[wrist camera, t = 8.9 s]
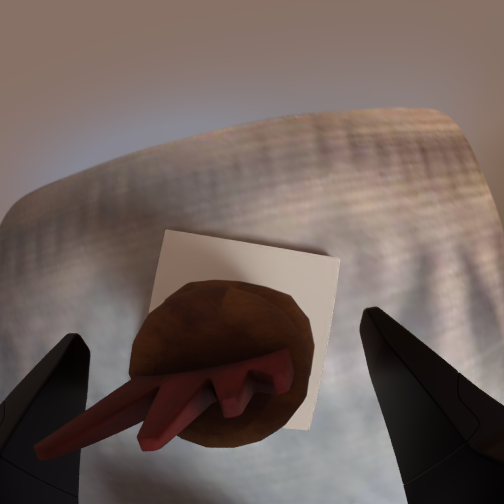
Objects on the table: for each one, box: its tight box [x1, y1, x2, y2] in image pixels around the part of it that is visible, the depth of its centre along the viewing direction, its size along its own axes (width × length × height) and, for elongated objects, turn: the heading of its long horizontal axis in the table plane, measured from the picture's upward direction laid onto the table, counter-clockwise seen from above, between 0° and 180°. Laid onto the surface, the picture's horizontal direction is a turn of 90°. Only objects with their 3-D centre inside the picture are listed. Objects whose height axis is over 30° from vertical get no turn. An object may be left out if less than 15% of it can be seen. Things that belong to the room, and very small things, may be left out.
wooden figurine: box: [33, 280, 315, 460], centre depth 10 cm, size 7×6×15 cm
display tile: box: [148, 229, 340, 430], centre depth 18 cm, size 11×11×1 cm
